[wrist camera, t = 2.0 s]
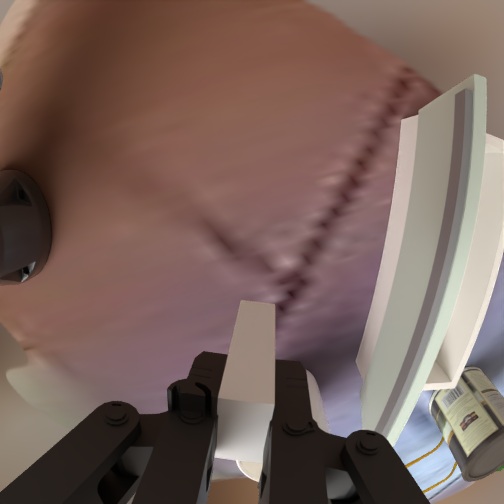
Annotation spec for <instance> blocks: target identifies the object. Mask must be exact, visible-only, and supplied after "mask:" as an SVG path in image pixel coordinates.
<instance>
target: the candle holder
mask: <svg viewBox="0 0 504 504" xmlns="http://www.w3.org/2000/svg"><path fill="white" fill-rule="evenodd" d="M306 372H307V381H308V389H309V395H310V402H311V410H312V417H313V419H314V420H315V421H316V422H317V424H318V426H319V428H320V429H322V430H323V431H325V432H327V433H330V434H331V431H330V427H329V423H328V420H327V416H326V412H325V409H324V405H323V401H322V398H321V394H320V391H319V387H318V384H317V382H316V379H315V378H314V376H313V375H312V374H311V373H310V372H309V371H308V370H306ZM236 462H237V465H238V467H239V469H240V470H241V471H242V472H243V473H244V474H245V475H246V476H247V477H249V478H251V479H253V480H255V481H258V482H259V479H260V475H261V471H262V466H263V461H262V463H256V462H246V461H237V460H236Z"/></svg>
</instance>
